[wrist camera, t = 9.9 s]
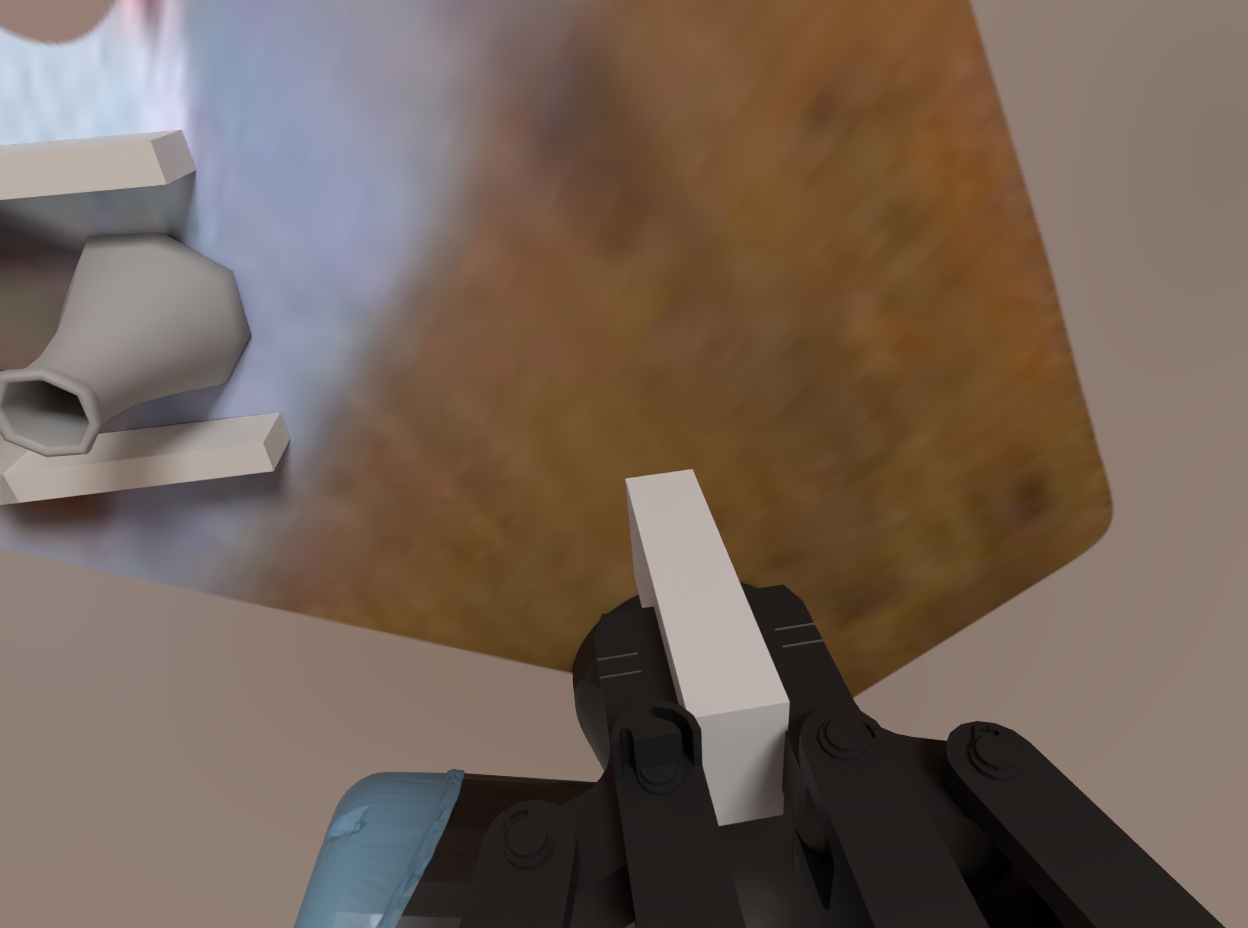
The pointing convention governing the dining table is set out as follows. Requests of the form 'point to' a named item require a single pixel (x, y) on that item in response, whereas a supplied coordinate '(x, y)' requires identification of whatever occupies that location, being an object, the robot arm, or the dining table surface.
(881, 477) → the dining table surface
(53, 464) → the white u-shaped stand
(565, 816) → the robot arm
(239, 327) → the flask
